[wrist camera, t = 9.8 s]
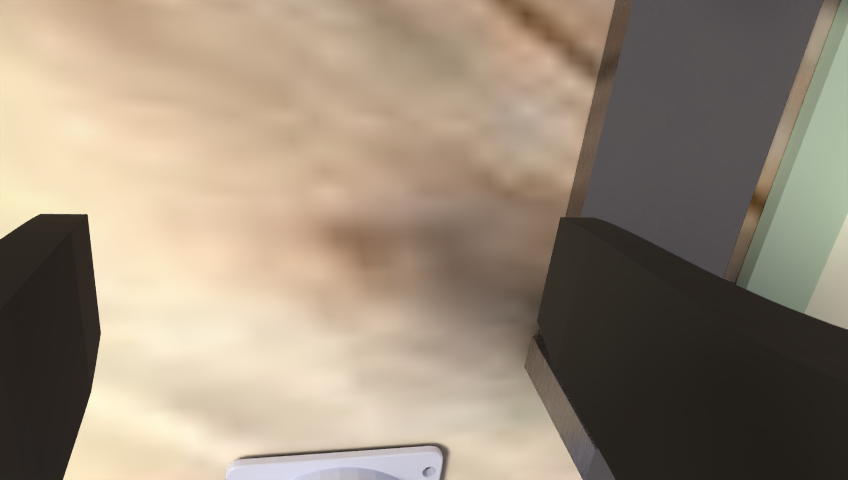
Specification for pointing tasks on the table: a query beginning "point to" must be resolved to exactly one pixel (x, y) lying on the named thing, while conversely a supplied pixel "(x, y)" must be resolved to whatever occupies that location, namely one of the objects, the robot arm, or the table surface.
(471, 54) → the table surface
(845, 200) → the mat
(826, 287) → the rail
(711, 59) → the rack
